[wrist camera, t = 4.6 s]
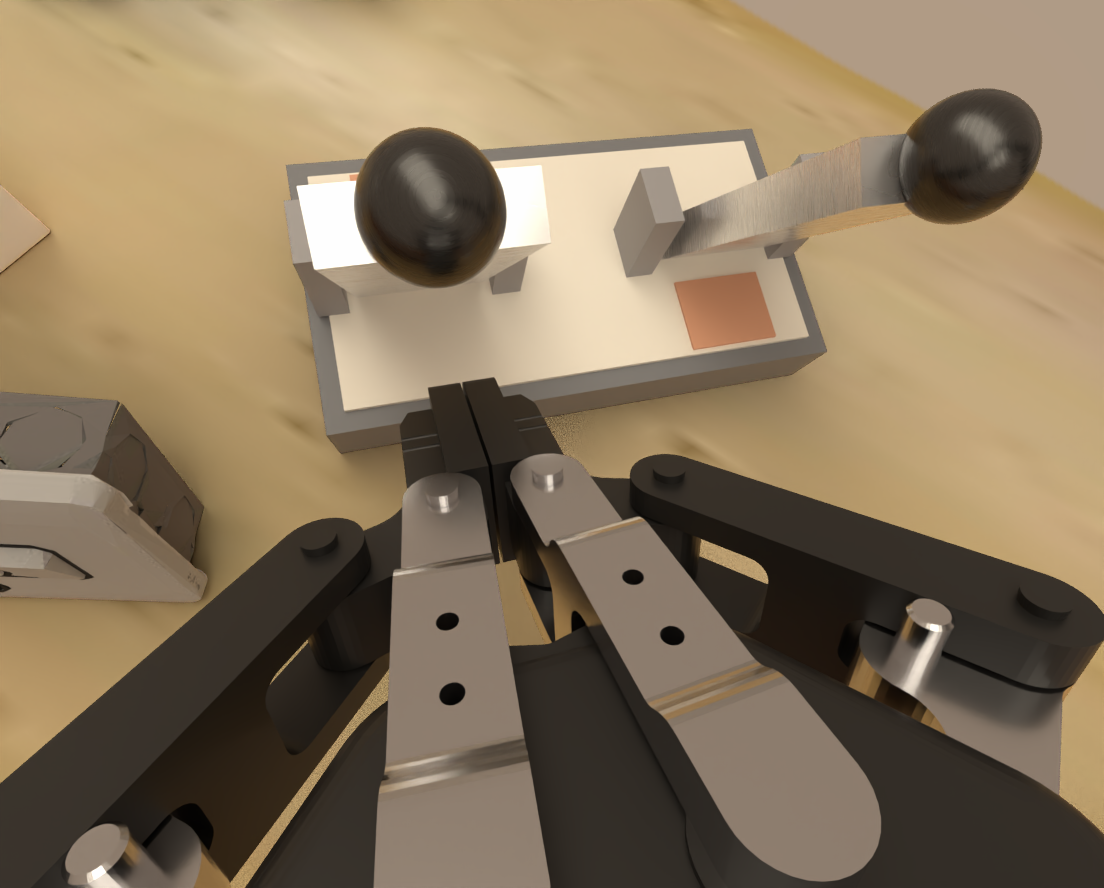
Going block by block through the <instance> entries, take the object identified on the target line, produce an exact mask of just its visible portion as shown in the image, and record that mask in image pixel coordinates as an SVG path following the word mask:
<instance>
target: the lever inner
mask: <svg viewBox="0 0 1104 888" xmlns="http://www.w3.org/2000/svg"><path fill="white" fill-rule="evenodd" d="M1041 149H1042V131H1041V127H1040V123H1039V121H1038V118H1037V116H1036V114H1035V113H1034V112H1033V110H1032V108H1031V107H1030V106H1029V105H1028V104H1027V103H1026V102H1025V101H1023V100H1022V99H1021V98H1019V97H1018V96H1016V95H1014V94H1011V93H1009V92H1006V91H1002V90H997V89H975V90H968V91H964V92H961V93H958V94H955V95H952V96H950V97H948V98H946V99H944V100H942V101H940V102H938V103H937V104H935V105H934V106H932V107H931V108H929V109H928V110H927V111H925V112H924V113H923V114H922V115H921V116H920V117H919V118H918V119H917V120H916V121H915V122H914V123H913V124H912V126H911V127H910V128H909V129H908V131H907V132H906V134H900V135H888V136H876V137H865V138H859V139H857V140H854V141H852V142H849V143H847V144H844V145H842V146H840V147H837V148H835V149H832V150H830V151H828V152H825V153H823V154H820V155H818V156H816V157H813V158H811V159H808V160H806V161H803V162H801V163H799V164H796V165H794V166H791V167H789V168H787V169H784V170H782V171H779V172H777V173H774V174H772V175H770V176H767V177H765V178H762V179H760V180H758V181H755V182H753V183H750V184H748V185H746V186H743V187H741V188H738V189H736V190H733V191H731V192H729V193H726V194H724V195H721V196H719V197H717V198H714V199H712V200H709V201H707V202H705V203H702V204H700V205H697V206H695V207H692V208H690V209H688V210H685V211H683V215H684V218H685V222H684V223H683V225H682V226H681V228H680V230H679V231H678V233H677V234H676V236H675V238H674V239H673V241H672V243H671V244H670V246H669V247H668V249H667V251H666V252H665V254H664V255H663V257H662V260H664V259H672V258H680V257H689V256H697V255H705V254H713V253H721V252H729V251H737V250H745V249H753V248H761V247H767V246H771V245H776V244H780V243H785V242H789V241H794V240H798V239H803V238H807V237H812V236H816V235H821V234H825V233H830V232H834V231H839V230H843V229H848V228H852V227H856V226H861V225H865V224H870V223H874V222H879V221H883V220H888V219H892V218H897V217H901V216H906V215H910V214H914V215H916V216H918V217H920V218H922V219H924V220H926V221H929V222H933V223H937V224H948V225H949V224H962V223H967V222H971V221H975V220H978V219H980V218H983V217H985V216H988V215H990V214H992V213H993V212H995V211H997V210H998V209H1000V208H1002V207H1003V206H1004V205H1006V204H1007V203H1008V202H1010V201H1011V200H1012V199H1013V198H1014V197H1015V196H1016V195H1017V194H1018V193H1019V192H1020V191H1021V190H1023V188H1024V186H1025V185H1026V184H1027V182H1028V181H1029V179H1030V178H1031V176H1032V174H1033V173H1034V171H1035V169H1036V166H1037V164H1038V160H1039V157H1040V154H1041Z"/></svg>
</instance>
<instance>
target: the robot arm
mask: <svg viewBox="0 0 1104 888" xmlns="http://www.w3.org/2000/svg"><path fill="white" fill-rule="evenodd" d="M462 389H463V390H462ZM428 394H429V400H430V405H431V409H428V410H422V411H416V412H410V413H407V415H406V416H405V418H404V420H403V421H402V423H401V424H400V434H401V441H402V450H403V458H404V466H405V474H406V483H407V490H406V492H405V494H404V496H403V501H402V508H401V509H400V510H399V511H398V512H397V513H396V514H395V515H394V516H393V517H391V518H390V519H388V520H386V521H385V522H383V523H381V524H379V525H377V526H374V527H372V528H369V529H367V530H365V531H363V529H362V528H361V527H360V526H359V525H358V524H357V523H355V522H354V521H351V520H348V519H343V518H327V519H321V520H317V521H313V522H311V523H308V524H305V525H303V526H301V527H299V528H297V529H296V530H294V531H293V532H291V533H290V534H289V535H287V536H286V537H285V538H284V539H283V540H281V541H280V542H279V543H278V544H277V545H276V546H275V547H273V548H272V549H271V550H270V551H269V552H268V553H266V554H265V555H264V556H263V557H262V558H261V559H259V560H258V561H257V562H256V563H255V564H254V565H253V566H251V567H250V568H249V569H248V570H247V571H246V572H244V573H243V574H242V575H241V576H240V577H239V578H238V579H236V580H235V581H234V582H233V583H232V584H231V585H229V586H228V587H227V588H226V589H225V590H224V591H222V592H221V593H220V594H219V595H218V596H217V597H216V598H214V599H213V600H212V601H211V602H210V603H209V604H207V605H206V606H205V607H204V608H203V609H202V610H200V611H199V612H198V613H197V614H196V615H195V616H194V617H192V618H191V619H190V620H189V621H188V622H187V623H185V624H184V625H183V626H182V627H181V628H180V629H179V630H177V631H176V632H175V633H174V634H173V635H172V636H170V637H169V638H168V639H167V640H166V641H165V642H163V643H162V644H161V645H160V646H159V647H158V648H157V649H155V650H154V651H153V652H152V653H151V654H150V655H148V656H147V657H146V658H145V659H144V660H143V661H141V662H140V663H139V664H138V665H137V666H136V667H135V668H133V669H132V670H131V671H130V672H129V673H128V674H126V675H125V676H124V677H123V678H122V679H121V680H120V681H118V682H117V683H116V684H115V685H114V686H113V687H111V688H110V689H109V690H108V691H107V692H106V693H104V694H103V695H102V696H101V697H100V698H99V699H98V700H96V701H95V702H94V703H93V704H92V705H91V706H89V707H88V708H87V709H86V710H85V711H84V712H82V713H81V714H80V715H79V716H78V717H77V718H76V719H74V720H73V721H72V722H71V723H70V724H69V725H67V726H66V727H65V728H64V729H63V730H62V731H61V732H59V733H58V734H57V735H56V736H55V737H54V738H52V739H51V740H50V741H49V742H48V743H47V744H45V745H44V746H43V747H42V748H41V749H40V750H39V751H37V752H36V753H35V754H34V755H33V756H32V757H30V758H29V759H28V760H27V761H26V762H25V763H23V764H22V765H21V766H20V767H19V768H18V769H17V770H15V771H14V772H13V773H12V774H11V775H10V776H8V777H7V778H6V779H5V780H4V781H3V782H2V783H0V888H231V885H230V882H231V881H232V880H233V878H234V877H235V875H236V874H237V873H238V871H239V870H240V869H241V867H242V866H243V865H244V863H245V862H246V861H247V859H248V858H249V857H250V855H251V854H252V853H253V851H254V850H255V849H256V847H257V846H258V845H259V843H260V842H261V840H262V839H263V838H264V836H265V835H266V834H267V832H268V831H269V830H270V828H271V827H272V826H273V824H274V823H275V822H276V820H277V819H278V818H279V816H280V815H281V814H282V812H283V811H284V810H285V808H286V807H287V805H288V804H289V803H290V801H291V800H292V799H293V797H294V796H295V795H296V793H297V792H298V791H299V789H300V788H301V787H302V785H303V784H304V783H305V781H306V780H307V779H308V777H309V776H310V775H311V773H312V772H313V770H314V769H315V768H316V766H317V765H318V764H319V762H320V761H321V760H322V758H323V757H324V756H325V754H326V753H327V752H328V750H329V749H330V748H331V746H332V745H333V744H334V742H335V741H336V740H337V738H338V737H339V735H340V734H341V733H342V731H343V730H344V729H345V727H346V726H347V725H348V723H349V722H350V721H351V719H352V718H353V717H354V715H355V714H356V713H357V711H358V710H359V709H360V707H361V706H362V705H363V703H364V702H365V700H366V699H367V698H368V696H369V695H370V694H371V692H372V691H373V690H374V688H375V687H376V686H377V684H378V683H379V682H380V680H381V679H382V678H383V676H384V675H385V674H386V672H387V671H388V669H389V691H388V700H387V701H386V702H385V703H384V704H382V705H381V706H380V707H378V708H377V709H376V710H375V711H373V712H372V713H371V714H370V715H369V716H368V717H367V718H366V719H365V720H364V721H363V722H362V723H361V724H360V725H359V726H358V727H357V728H356V730H355V731H354V732H353V733H352V734H351V735H350V736H349V738H348V739H347V740H346V742H345V743H344V744H343V746H342V747H341V749H340V750H339V751H338V753H337V754H336V756H335V757H334V759H333V760H332V762H331V763H330V765H329V766H328V768H327V769H326V770H325V772H324V773H323V775H322V776H321V778H320V779H319V781H318V782H317V784H316V785H315V787H314V788H313V789H312V791H311V792H310V794H309V795H308V797H307V798H306V800H305V801H304V803H303V804H302V805H301V807H300V808H299V810H298V811H297V813H296V814H295V816H294V817H293V819H292V820H291V822H290V823H289V824H288V826H287V827H286V829H285V830H284V832H283V833H282V835H281V836H280V838H279V839H278V841H277V842H276V843H275V845H274V846H273V848H272V849H271V851H270V852H269V854H268V855H267V857H266V858H265V859H264V861H263V862H262V864H261V865H260V867H259V868H258V870H257V871H256V873H255V874H254V876H253V877H252V878H251V880H250V881H249V883H248V884H247V886H246V887H245V888H1104V834H1103V833H1102V832H1101V831H1100V830H1099V829H1098V828H1097V827H1096V826H1095V825H1094V824H1093V823H1092V822H1091V821H1090V820H1088V819H1087V818H1086V817H1085V816H1084V815H1083V814H1082V813H1081V812H1080V811H1078V810H1077V809H1076V808H1075V807H1073V806H1072V805H1071V804H1069V803H1068V802H1067V801H1066V800H1064V799H1063V798H1062V797H1060V796H1059V786H1060V756H1061V725H1062V702H1063V701H1064V699H1065V698H1066V696H1067V695H1068V693H1069V692H1070V690H1071V689H1072V687H1073V686H1074V684H1075V683H1076V681H1077V680H1078V678H1079V677H1080V675H1081V674H1082V672H1083V671H1084V669H1085V668H1086V666H1087V665H1088V663H1089V662H1090V660H1091V659H1092V657H1093V656H1094V654H1095V653H1096V651H1097V650H1098V648H1099V647H1100V645H1101V644H1102V642H1103V641H1104V614H1103V613H1102V611H1101V610H1100V609H1099V608H1098V606H1097V605H1096V604H1095V603H1094V602H1093V601H1092V600H1091V599H1089V598H1088V597H1087V596H1085V595H1084V594H1083V593H1082V592H1080V591H1078V590H1077V589H1075V588H1074V587H1072V586H1070V585H1068V584H1067V583H1065V582H1063V581H1061V580H1058V579H1056V578H1054V577H1051V576H1048V575H1046V574H1043V573H1040V572H1037V571H1034V570H1031V569H1027V568H1024V567H1021V566H1018V565H1015V564H1012V563H1009V562H1006V561H1003V560H1000V559H997V558H994V557H991V556H987V555H984V554H981V553H978V552H975V551H972V550H969V549H966V548H963V547H960V546H957V545H954V544H951V543H947V542H944V541H941V540H938V539H935V538H932V537H929V536H926V535H923V534H920V533H917V532H914V531H911V530H907V529H904V528H901V527H898V526H895V525H892V524H889V523H886V522H883V521H880V520H877V519H874V518H871V517H867V516H864V515H861V514H858V513H855V512H852V511H849V510H846V509H843V508H840V507H837V506H834V505H831V504H827V503H824V502H821V501H818V500H815V499H812V498H809V497H806V496H803V495H800V494H797V493H794V492H791V491H787V490H784V489H781V488H778V487H775V486H772V485H769V484H766V483H763V482H760V481H757V480H754V479H751V478H747V477H744V476H741V475H738V474H735V473H732V472H729V471H726V470H723V469H720V468H717V467H714V466H711V465H708V464H704V463H701V462H698V461H695V460H692V459H689V458H686V457H682V456H678V455H670V454H660V455H653V456H649V457H646V458H643V459H641V460H639V461H638V462H637V463H635V464H634V466H633V467H632V469H631V472H630V479H624V478H599V477H593V476H590V475H589V474H588V472H587V471H586V470H585V468H584V467H583V466H582V464H581V463H580V462H578V461H577V460H575V459H573V458H571V457H569V456H566V455H563V453H562V451H561V449H560V447H559V445H558V444H557V442H556V440H555V438H554V436H553V435H552V433H551V431H550V429H549V427H547V424H546V422H545V420H544V418H543V417H542V414H541V413H540V411H539V409H538V407H537V405H536V403H535V402H533V401H531V400H530V399H528V398H526V397H525V396H523V395H521V394H518V395H512V396H506V397H503V395H502V392H501V390H500V388H499V386H498V384H497V381H496V379H495V378H494V377H491V378H485V379H478V380H472V381H466V382H462V387H461V384H460V383H453V384H447V385H441V386H434V387H428ZM701 539H703V540H706V541H708V542H711V543H713V544H716V545H718V546H721V547H723V548H726V549H728V550H731V551H733V552H736V553H738V554H741V555H743V556H746V557H748V558H751V559H753V560H755V561H756V562H757V563H759V564H760V565H761V566H762V567H763V568H764V570H765V571H766V573H767V575H768V580H769V581H768V584H765V583H763V582H760V581H758V580H755V579H753V578H751V577H748V576H746V575H743V574H741V573H738V572H736V571H734V570H731V569H729V568H726V567H724V566H721V565H719V564H717V563H714V562H712V561H709V560H707V559H705V558H702V557H700V556H699V553H700V544H701ZM498 546H499V550H500V553H501V556H502V560H503V562H507V561H511V560H517V564H518V567H519V573H520V583H521V590H522V593H523V595H524V597H525V600H526V602H527V604H528V606H529V609H530V611H531V613H532V616H533V618H534V620H535V622H536V625H537V627H538V629H539V632H540V634H541V636H542V639H543V641H544V643H545V645H526V646H509V644H508V638H507V633H506V627H505V621H504V615H503V609H502V603H501V597H500V591H499V585H498V580H497V574H496V568H495V564H499V563H500V559H499V550H498ZM306 640H308V644H307V645H306V646H305V647H304V648H303V649H302V650H301V651H300V652H299V653H298V655H297V656H296V657H295V658H294V659H293V660H292V661H291V662H290V663H289V664H288V665H287V667H286V668H285V669H284V670H283V671H282V672H281V673H280V674H279V675H278V676H277V678H276V679H275V680H274V681H273V682H272V683H271V681H272V679H273V677H274V676H275V674H276V673H277V672H278V671H279V670H280V668H281V667H282V666H283V665H284V664H285V663H286V662H287V661H288V660H289V659H290V658H291V657H292V655H293V654H294V653H295V652H296V651H297V650H298V649H299V648H300V647H301V646H302V645H303V643H304V642H305V641H306ZM270 683H271V684H270Z"/></svg>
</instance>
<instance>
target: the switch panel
mask: <svg viewBox="0 0 1104 888" xmlns="http://www.w3.org/2000/svg"><path fill="white" fill-rule="evenodd" d="M480 151H481V152H482V153H483V154H484V155H485V156H486V158H487V159H488V160H489V161H490V163H491V164H492V166H493V168H494V169H503V168H515V167H526V166H538V165H541V166H542V174H543V182H544V190H545V198H546V206H547V214H548V222H549V229H550V237H551V243H550V244H548V245H547V246H545V247H543V248H541V249H540V250H538V251H536V252H534V253H533V254H531V255H529V256H527V257H526V258H524V259H522V260H520V261H519V262H517V263H515V264H513V265H512V266H510V267H508V268H506V269H504V270H503V271H501V272H499V273H497V274H496V275H494V276H492V277H490V278H489V279H487V280H485V281H483V282H480V283H472V284H464V285H456V286H453V287H448V288H437V289H434V288H431V289H423V290H415V291H407V292H399V293H391V294H383V295H375V296H367V297H359V298H357V297H355V296H354V295H352V294H351V293H349V292H348V291H346V290H345V289H343V288H342V287H340V286H339V285H337V284H335V283H334V282H332V281H331V280H329V279H328V278H326V277H325V276H323V275H322V274H320V273H319V272H317V271H316V270H314V266H313V261H312V256H311V252H310V247H309V242H308V238H307V233H306V228H305V223H304V219H303V214H302V209H301V205H300V200H299V195H298V190H297V186H303V185H314V184H326V183H338V182H350V181H356V180H357V176H358V174H359V171H360V169H361V167H362V165H363V163H364V162H365V160H366V159H358V160H345V161H332V162H319V163H306V164H293V165H286V169H287V176H288V182H289V189H290V196H291V200H286V201H284V205H285V212H286V219H287V226H288V233H289V239H290V246H291V253H292V260H293V265H294V267H295V269H296V271H297V273H298V275H299V277H300V279H301V281H302V283H303V285H304V289H305V295H306V302H307V309H308V315H309V322H310V329H311V335H312V342H313V349H314V355H315V362H316V369H317V375H318V382H319V389H320V395H321V402H322V409H323V415H324V422H325V429H326V435H327V437H328V438H329V439H330V441H331V442H332V443H333V444H334V446H335V447H336V448H337V449H338V451H339V452H340V453H345V452H351V451H356V450H362V449H368V448H374V447H379V446H385V445H391V444H397V443H402V441H401V434H400V424H401V423H402V421H403V420H404V418H405V416H406V415H407V413H410V412H416V411H422V410H428V409H431V405H430V400H429V394H428V387H434V386H441V385H447V384H453V383H460V384H461V387H462V382H466V381H472V380H478V379H485V378H491V377H494V378H495V379H496V381H497V384H498V386H499V388H500V390H501V392H502V395H503V397H506V396H512V395H518V394H521V395H523V396H525V397H526V398H528V399H530V400H531V401H533V402H535V403H536V405H537V407H538V409H539V411H540V413H541V414H542V417H543V418H545V417H551V416H557V415H563V414H568V413H574V412H580V411H586V410H591V409H597V408H603V407H608V406H614V405H620V404H626V403H631V402H637V401H643V400H649V399H654V398H660V397H666V396H671V395H677V394H683V393H689V392H694V391H700V390H706V389H712V388H717V387H723V386H729V385H734V384H740V383H746V382H752V381H757V380H763V379H769V378H775V377H780V376H786V375H792V374H793V373H795V372H796V371H798V370H799V369H801V368H802V367H804V366H806V365H807V364H809V363H810V362H812V361H813V360H815V359H816V358H818V357H819V356H821V355H823V354H824V353H826V352H827V349H826V346H825V343H824V340H823V337H822V334H821V331H820V329H819V326H818V323H817V320H816V317H815V314H814V311H813V308H812V305H811V302H810V299H809V296H808V293H807V290H806V287H805V284H804V281H803V278H802V275H801V272H800V269H799V267H798V264H797V261H796V258H795V255H794V252H795V251H796V250H797V249H798V248H799V247H800V246H801V245H802V244H803V243H804V242H805V241H806V240H807V239H808V238H809V237H807V238H803V239H798V240H794V241H789V242H785V243H780V244H776V245H771V246H767V247H761V248H753V249H745V250H737V251H729V252H721V253H713V254H705V255H697V256H689V257H680V258H672V259H664V260H662V257H663V255H664V254H665V252H666V251H667V249H668V247H669V246H670V244H671V243H672V241H673V239H674V238H675V236H676V234H677V233H678V231H679V230H680V228H681V226H682V225H683V223H684V222H685V218H684V215H683V211H685V210H688V209H690V208H692V207H695V206H697V205H700V204H702V203H705V202H707V201H709V200H712V199H714V198H717V197H719V196H721V195H724V194H726V193H729V192H731V191H733V190H736V189H738V188H741V187H743V186H746V185H748V184H750V183H753V182H755V181H758V180H760V179H762V178H765V177H767V176H768V175H767V172H766V169H765V166H764V163H763V160H762V157H761V154H760V151H759V149H758V146H757V143H756V140H755V137H754V134H753V131H752V129H743V130H730V131H717V132H705V133H692V134H679V135H666V136H653V137H640V138H627V139H615V140H602V141H589V142H576V143H563V144H550V145H538V146H525V147H512V148H499V149H486V150H480ZM823 153H825V152H823ZM823 153H812V154H801V155H799V156H798V158H797V159H796V160H795V161H794V163H793V164H792V165H791V166H794V165H796V164H799V163H801V162H803V161H806V160H808V159H811V158H813V157H816V156H818V155H820V154H823ZM791 166H790V167H791ZM462 390H463V389H462Z"/></svg>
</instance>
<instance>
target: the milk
mask: <svg viewBox="0 0 1104 888" xmlns="http://www.w3.org/2000/svg"><path fill="white" fill-rule="evenodd" d="M49 233H50V230H49V229H48V227H46V226H45V225H44V224H43V223H42V222H41V221H40V220H39V219H38V218H37V217H36V216H34V215H33V214H32V213H31V212H30V211H29V210H28V209H27V208H26V207H25V206H23V205H22V204H21V203H20V202H19V201H18V200H17V199H16V198H15V197H13V196H12V195H11V194H10V193H9V192H8V191H7V190H6V189H5V188H4V187H2V186H1V185H0V273H1V272H2V271H3V270H5V269H6V268H7V267H8V266H9V265H11V264H12V263H13V262H14V261H16V260H17V259H18V258H19V257H21V256H22V255H23V254H24V253H25V252H27V251H28V250H29V249H30V248H32V247H33V246H34V245H35V244H36V243H38V242H39V241H40V240H41V239H43V238H44V237H45V236H46V235H47V234H49Z"/></svg>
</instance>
